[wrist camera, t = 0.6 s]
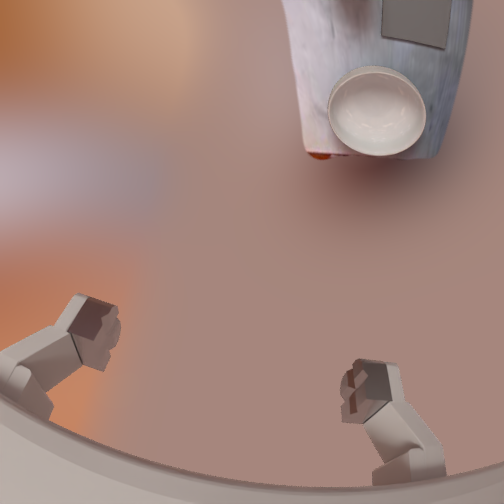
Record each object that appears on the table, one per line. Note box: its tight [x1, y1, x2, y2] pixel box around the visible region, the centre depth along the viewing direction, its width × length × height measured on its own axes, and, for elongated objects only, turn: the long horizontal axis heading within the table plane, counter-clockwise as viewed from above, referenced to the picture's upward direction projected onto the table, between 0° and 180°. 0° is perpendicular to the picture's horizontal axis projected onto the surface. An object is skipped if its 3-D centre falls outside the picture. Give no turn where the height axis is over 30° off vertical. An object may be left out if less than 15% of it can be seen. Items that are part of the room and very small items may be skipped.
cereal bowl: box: [328, 66, 426, 156], centre depth 46 cm, size 17×17×7 cm
